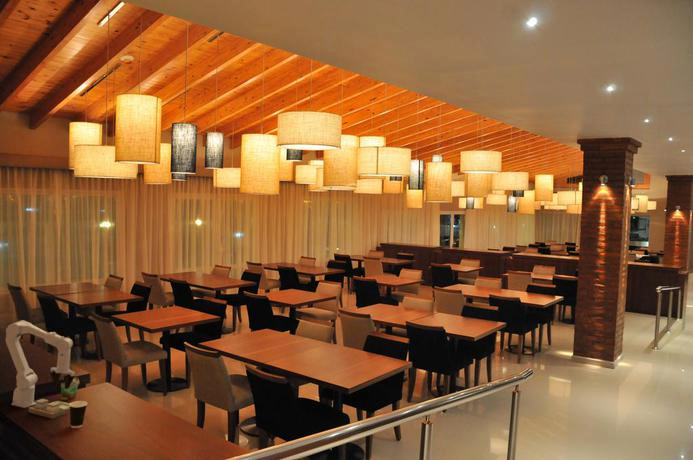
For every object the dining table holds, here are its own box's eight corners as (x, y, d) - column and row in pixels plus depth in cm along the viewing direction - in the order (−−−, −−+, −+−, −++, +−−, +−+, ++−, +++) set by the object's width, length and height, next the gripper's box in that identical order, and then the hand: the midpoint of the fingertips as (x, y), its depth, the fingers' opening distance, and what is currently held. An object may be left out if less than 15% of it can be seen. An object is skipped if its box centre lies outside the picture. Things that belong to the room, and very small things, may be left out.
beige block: (34, 412, 265) (35, 400, 265) (41, 410, 269) (42, 398, 268) (40, 414, 263) (41, 402, 263) (47, 411, 267) (48, 400, 267)
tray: (41, 408, 270) (42, 406, 270) (57, 403, 279) (57, 400, 279) (58, 413, 266) (59, 410, 266) (74, 407, 275) (74, 404, 275)
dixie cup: (86, 428, 252) (88, 405, 252) (68, 430, 248) (70, 407, 248) (84, 421, 259) (86, 400, 259) (66, 424, 254) (68, 401, 254)
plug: (52, 417, 261) (53, 405, 261) (46, 415, 262) (47, 404, 262) (59, 414, 265) (60, 403, 265) (53, 413, 266) (54, 401, 266)
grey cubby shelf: (28, 413, 263) (28, 407, 263) (42, 408, 271) (42, 402, 271) (52, 419, 258) (52, 413, 258) (65, 414, 266) (66, 408, 266)
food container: (70, 402, 282) (72, 384, 282) (59, 401, 282) (60, 383, 282) (82, 395, 294) (84, 377, 294) (71, 394, 294) (73, 376, 294)
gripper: (46, 360, 273) (44, 386, 273) (67, 365, 268) (65, 391, 269) (58, 358, 280) (55, 383, 280) (78, 362, 275) (76, 388, 275)
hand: (61, 387), depth 275 cm, fingers open, 7 cm apart
